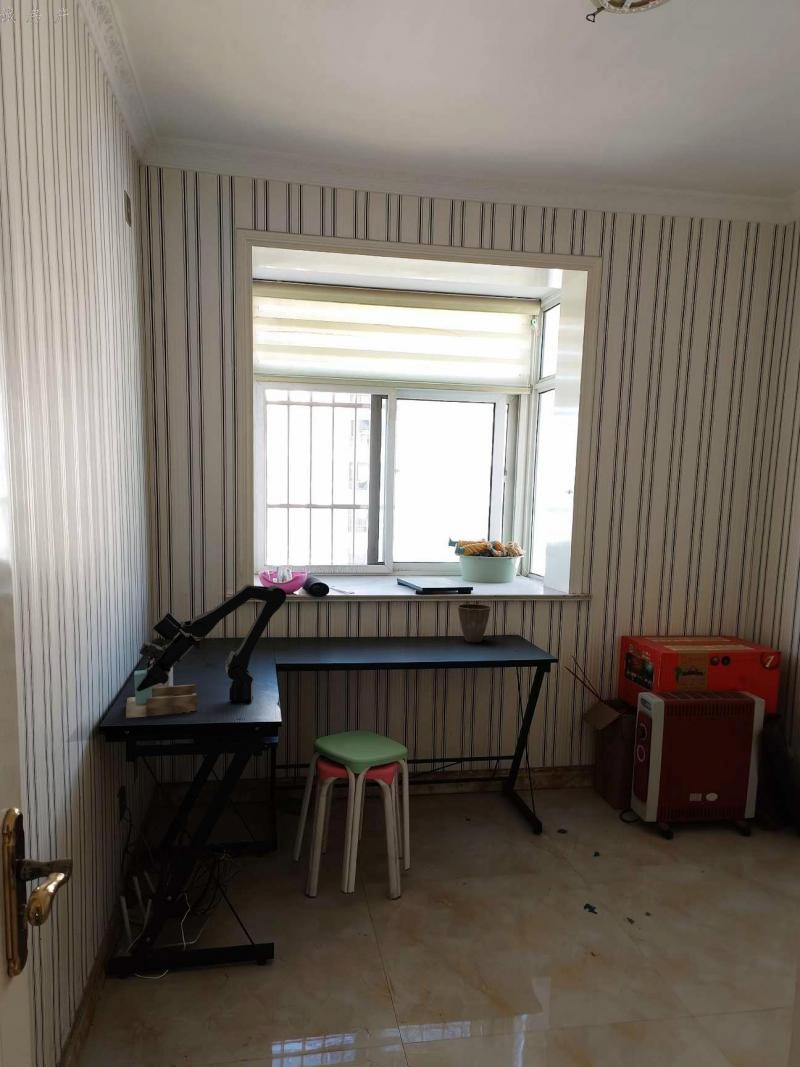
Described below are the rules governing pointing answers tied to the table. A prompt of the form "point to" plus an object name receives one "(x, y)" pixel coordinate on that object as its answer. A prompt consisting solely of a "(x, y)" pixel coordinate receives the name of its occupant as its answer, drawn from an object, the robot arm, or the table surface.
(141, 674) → the teal block
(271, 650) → the table surface
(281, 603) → the robot arm
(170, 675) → the medicine box
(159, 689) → the channel track
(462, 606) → the plant pot
